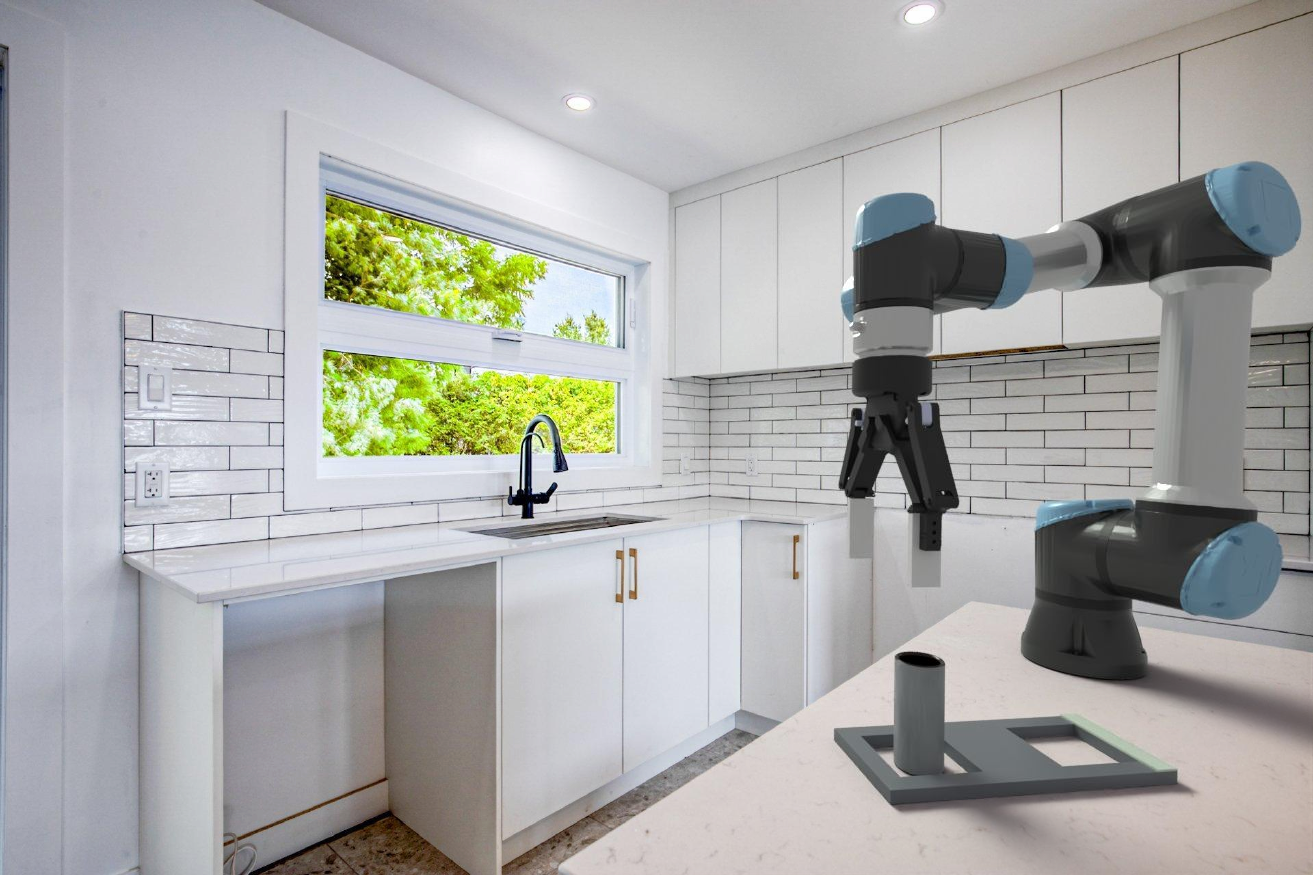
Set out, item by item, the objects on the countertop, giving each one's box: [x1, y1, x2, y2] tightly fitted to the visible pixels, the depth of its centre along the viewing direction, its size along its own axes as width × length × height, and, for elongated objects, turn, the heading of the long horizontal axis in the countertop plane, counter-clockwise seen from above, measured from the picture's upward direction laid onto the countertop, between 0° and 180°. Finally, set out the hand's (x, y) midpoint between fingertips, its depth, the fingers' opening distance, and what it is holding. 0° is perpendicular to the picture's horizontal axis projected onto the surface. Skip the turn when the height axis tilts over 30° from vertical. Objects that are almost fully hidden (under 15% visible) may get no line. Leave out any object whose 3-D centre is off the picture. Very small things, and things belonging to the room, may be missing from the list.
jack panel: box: [833, 713, 1179, 805], centre depth 64 cm, size 28×12×1 cm, turn 98°
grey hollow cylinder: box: [893, 651, 946, 776], centre depth 63 cm, size 4×4×10 cm
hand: (888, 571), depth 65 cm, fingers open, 13 cm apart
